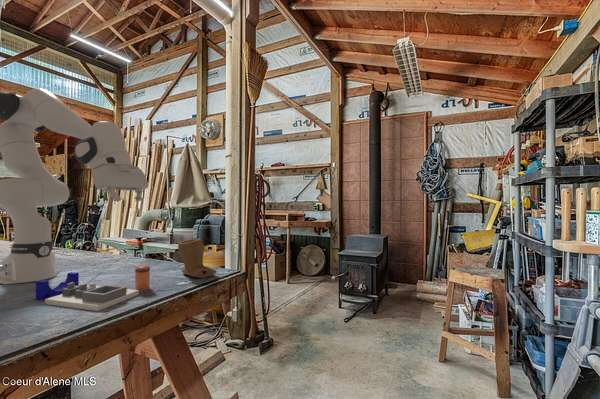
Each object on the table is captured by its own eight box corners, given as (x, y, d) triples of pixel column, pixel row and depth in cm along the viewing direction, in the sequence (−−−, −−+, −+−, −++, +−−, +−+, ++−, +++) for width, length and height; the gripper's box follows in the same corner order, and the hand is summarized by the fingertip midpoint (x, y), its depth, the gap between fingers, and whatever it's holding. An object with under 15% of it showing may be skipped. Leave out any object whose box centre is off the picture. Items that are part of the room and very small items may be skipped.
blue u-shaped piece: (68, 288, 109) (68, 271, 109) (78, 289, 108) (78, 272, 108) (31, 300, 97) (31, 281, 97) (43, 301, 96) (43, 281, 96)
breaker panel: (45, 304, 93) (45, 287, 93) (91, 289, 107) (91, 275, 107) (97, 311, 87) (97, 293, 87) (138, 294, 102) (138, 279, 102)
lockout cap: (131, 291, 106) (131, 267, 106) (142, 287, 110) (142, 264, 110) (143, 292, 105) (143, 268, 104) (152, 288, 109) (152, 265, 109)
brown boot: (173, 274, 129) (173, 238, 128) (201, 269, 137) (201, 235, 136) (188, 281, 117) (188, 242, 117) (217, 276, 125) (217, 239, 125)
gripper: (134, 170, 121) (144, 203, 119) (84, 164, 101) (96, 204, 100) (146, 163, 119) (157, 197, 118) (98, 157, 99) (111, 197, 98)
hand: (128, 200), depth 109 cm, fingers open, 8 cm apart
